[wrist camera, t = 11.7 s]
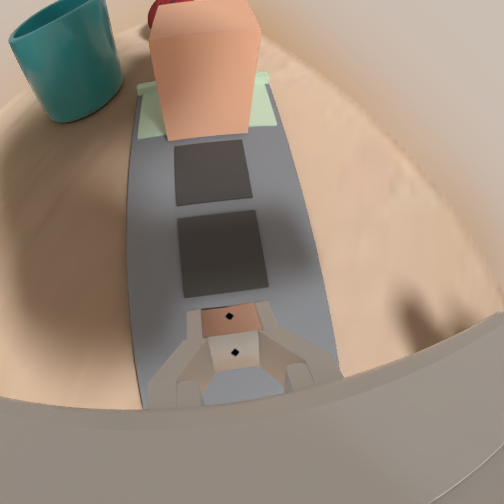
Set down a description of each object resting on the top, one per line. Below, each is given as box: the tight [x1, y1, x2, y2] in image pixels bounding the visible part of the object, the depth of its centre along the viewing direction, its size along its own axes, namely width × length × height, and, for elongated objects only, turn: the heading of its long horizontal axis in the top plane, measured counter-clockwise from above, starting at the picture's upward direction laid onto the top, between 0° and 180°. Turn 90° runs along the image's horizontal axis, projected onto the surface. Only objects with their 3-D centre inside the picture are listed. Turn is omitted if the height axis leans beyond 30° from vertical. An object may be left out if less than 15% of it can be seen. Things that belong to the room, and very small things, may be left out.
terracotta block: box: [148, 0, 262, 141], centre depth 16 cm, size 6×6×9 cm
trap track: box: [127, 72, 340, 409], centre depth 18 cm, size 12×26×2 cm, turn 9°
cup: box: [9, 0, 123, 123], centre depth 17 cm, size 9×12×11 cm
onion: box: [148, 0, 194, 29], centre depth 22 cm, size 6×6×8 cm
